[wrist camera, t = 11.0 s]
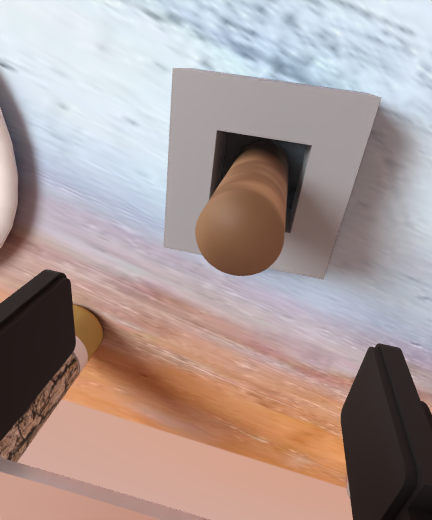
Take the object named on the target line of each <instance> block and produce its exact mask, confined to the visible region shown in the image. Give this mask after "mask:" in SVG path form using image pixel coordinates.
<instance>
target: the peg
mask: <svg viewBox="0 0 432 520" xmlns="http://www.w3.org/2000/svg"><path fill="white" fill-rule="evenodd" d="M288 175H289V162H288V158H287V156H286V154H285V152H284V151H283V150H282V149H281V148H280V147H279V146H278V145H276V144H275V143H272V142H269V141H256V142H253V143H251V144H249V145H247V146H246V147H245V148H244V149H243V150H242V151H241V152H240V154H239V155H238V157H237V158H236V160H235V162H234V163H233V165H232V166H231V168H230V169H229V171H228V172H227V174H226V175H225V177H224V178H223V180H222V181H221V183H220V184H219V186H218V187H217V189H216V190H215V192H214V193H213V195H212V197H211V198H210V200H209V201H208V203H207V204H206V206H205V207H204V209H203V210H202V212H201V213H200V215H199V217H198V220H197V223H196V228H195V237H196V242H197V245H198V248H199V250H200V252H201V254H202V255H203V257H204V258H205V259H206V260H207V261H208V262H209V263H210V264H211V265H212V266H214V267H215V268H216V269H218V270H220V271H222V272H225V273H227V274H231V275H237V276H247V275H253V274H257V273H260V272H262V271H264V270H265V269H267V268H269V267H270V266H271V265H272V264H273V263H274V262H275V261H276V260H277V258H278V257H279V255H280V253H281V251H282V248H283V244H284V235H285V220H286V205H287V190H288Z"/></svg>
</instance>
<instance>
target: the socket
mask: <svg viewBox="0 0 432 520" xmlns="http://www.w3.org/2000/svg"><path fill="white" fill-rule="evenodd" d="M380 100H381V98H380V97H377V96H374V95H371V94H368V93H363V92H356V91H349V90H342V89H335V88H328V87H321V86H314V85H306V84H299V83H292V82H285V81H278V80H271V79H264V78H257V77H250V76H242V75H235V74H228V73H221V72H214V71H207V70H200V69H193V68H173V74H172V93H171V113H170V132H169V152H168V172H167V191H166V211H165V231H164V247H165V248H170V249H175V250H180V251H185V252H190V253H195V254H199V255H202V254H201V252H200V250H199V248H198V245H197V242H196V237H195V228H196V223H197V220H198V217H199V215H200V213H201V212H202V210H203V209H204V207H205V206H206V204H207V203H208V201H209V200H210V198H211V197H212V195H213V193H214V192H215V190H216V189H217V187H218V186H219V184H220V183H221V179H222V171H223V163H224V155H225V147H226V140H227V132H232V133H238V134H244V135H250V136H257V137H263V138H269V139H275V140H282V141H288V142H294V143H301V144H307V146H306V150H305V154H304V159H303V163H302V167H301V171H300V176H299V180H298V184H297V188H296V192H295V197H294V201H293V205H292V209H291V210H287V209H286V220H285V235H284V244H283V248H282V251H281V253H280V255H279V257H278V258H277V260H276V261H275V262H274V263H273V264H272V265H271V266H270V267H269V269H274V270H279V271H284V272H289V273H294V274H299V275H304V276H309V277H314V278H319V279H324V276H325V273H326V270H327V267H328V264H329V261H330V257H331V254H332V251H333V248H334V245H335V242H336V239H337V235H338V232H339V229H340V226H341V223H342V220H343V217H344V213H345V210H346V207H347V204H348V201H349V198H350V195H351V191H352V188H353V185H354V182H355V179H356V176H357V173H358V169H359V166H360V163H361V160H362V157H363V154H364V151H365V147H366V144H367V141H368V138H369V135H370V132H371V129H372V126H373V122H374V119H375V116H376V113H377V110H378V107H379V104H380Z"/></svg>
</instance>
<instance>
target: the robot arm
mask: <svg viewBox="0 0 432 520" xmlns="http://www.w3.org/2000/svg"><path fill="white" fill-rule="evenodd" d="M75 346H76V336H75V325H74V314H73V303H72V293H71V283H70V280H69V279H67V278H66V275H65V274H64V273H61V272H56V271H52V270H44V271H42V272H41V273H40V274H38V275H37V276H36V277H34V278H33V279H32V280H30V281H29V282H28V283H27V284H25V285H24V286H23V287H21V288H20V289H19V290H17V291H16V292H15V293H13V294H12V295H11V296H10V297H8V298H7V299H6V300H4V301H3V302H2V303H0V441H1V440H2V439H3V438H4V437H5V436H6V435H7V433H8V432H9V431H10V430H11V428H12V427H13V426H14V425H15V423H16V422H17V421H18V420H19V418H20V417H21V416H22V415H23V414H24V412H25V411H26V410H27V409H28V407H29V406H30V405H31V404H32V402H33V401H34V400H35V399H36V398H37V396H38V395H39V394H40V393H41V391H42V390H43V389H44V388H45V386H46V385H47V384H48V383H49V382H50V380H51V379H52V378H53V377H54V375H55V374H56V373H57V372H58V370H59V369H60V368H61V367H62V366H63V364H64V363H65V362H66V361H67V359H68V358H69V357H70V356H71V354H72V353H73V351H74V349H75ZM341 427H342V435H343V443H344V451H345V459H346V467H347V478H346V486H347V492H348V495H349V497H350V499H351V507H352V515H353V520H432V414H431V412H430V410H429V408H428V406H427V404H426V403H424V402H423V401H420V398H419V396H418V393H417V390H416V388H415V385H414V382H413V380H412V377H411V374H410V372H409V369H408V366H407V364H406V361H405V358H404V356H403V353H402V351H401V349H400V348H398V347H393V346H389V345H384V344H380V343H379V344H377V345H376V346H375V348H374V347H369V349H368V350H367V353H366V355H365V357H364V360H363V362H362V364H361V366H360V369H359V371H358V373H357V376H356V378H355V380H354V382H353V385H352V387H351V389H350V392H349V394H348V396H347V399H346V401H345V403H344V405H343V408H342V411H341ZM0 520H209V519H206V518H203V517H199V516H196V515H193V514H189V513H186V512H183V511H180V510H176V509H172V508H170V507H166V506H163V505H160V504H156V503H153V502H149V501H146V500H143V499H139V498H136V497H133V496H129V495H126V494H122V493H119V492H115V491H112V490H109V489H106V488H102V487H99V486H95V485H92V484H89V483H85V482H82V481H79V480H75V479H71V478H69V477H65V476H62V475H58V474H55V473H51V472H48V471H44V470H41V469H38V468H34V467H30V466H27V465H24V464H20V463H17V462H14V461H10V460H7V459H3V458H0Z"/></svg>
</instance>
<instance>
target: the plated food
mask: <svg viewBox="0 0 432 520" xmlns="http://www.w3.org/2000/svg"><path fill="white" fill-rule="evenodd" d="M17 205H18V173H17V167H16V161H15V156H14V150H13V144H12V141H11V138H10V135H9V132H8V129H7V126H6V123H5V120H4V117H3V114H2V111H1V109H0V248H1V247H2V246H3V244H4V242H5V240H6V238H7V236H8V235H9V233H10V231H11V229H12V226H13V222H14V218H15V214H16V210H17Z"/></svg>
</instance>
